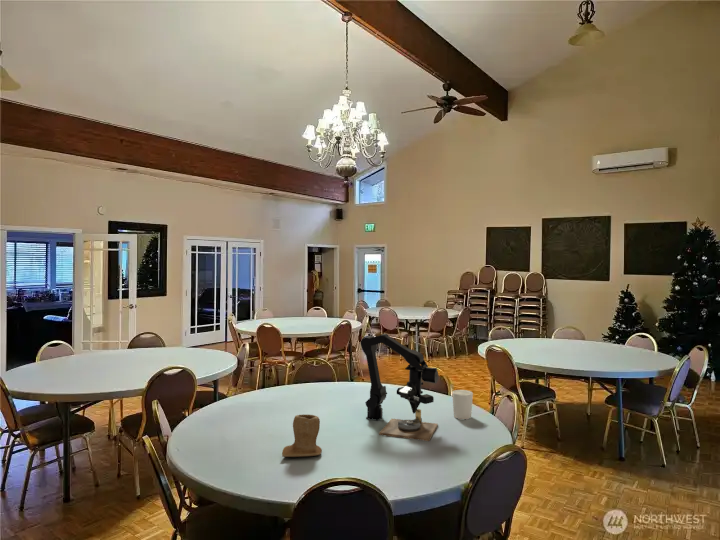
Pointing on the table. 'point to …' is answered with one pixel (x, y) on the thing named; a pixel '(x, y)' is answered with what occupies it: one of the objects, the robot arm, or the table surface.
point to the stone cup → (304, 437)
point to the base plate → (422, 434)
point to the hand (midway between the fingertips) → (413, 413)
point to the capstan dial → (411, 423)
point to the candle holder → (462, 404)
